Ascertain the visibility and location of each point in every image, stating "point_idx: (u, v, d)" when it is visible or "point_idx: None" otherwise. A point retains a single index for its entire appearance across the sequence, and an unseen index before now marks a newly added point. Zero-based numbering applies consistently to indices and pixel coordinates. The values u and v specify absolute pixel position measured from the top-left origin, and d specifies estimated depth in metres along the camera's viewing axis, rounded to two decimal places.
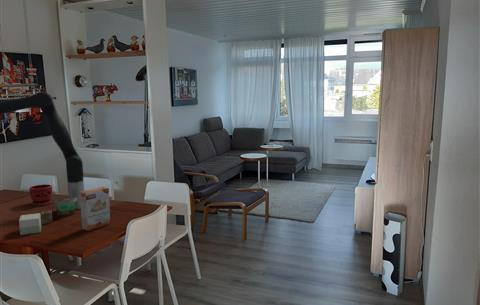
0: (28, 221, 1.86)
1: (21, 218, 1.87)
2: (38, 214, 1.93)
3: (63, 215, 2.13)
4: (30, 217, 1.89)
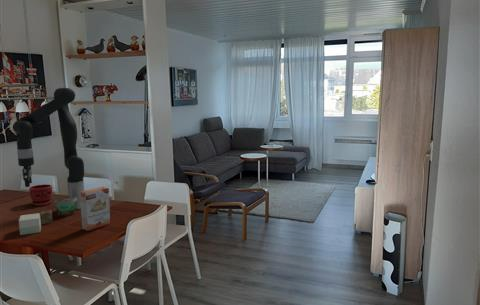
0: (28, 221, 1.86)
1: (21, 218, 1.87)
2: (38, 214, 1.93)
3: (63, 215, 2.13)
4: (30, 217, 1.89)
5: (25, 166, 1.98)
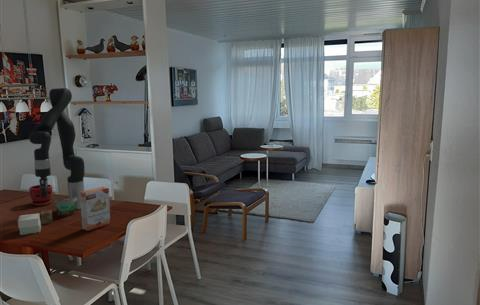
0: (27, 221, 1.86)
1: (20, 218, 1.87)
2: (37, 214, 1.93)
3: (63, 215, 2.13)
4: (29, 217, 1.88)
5: (42, 177, 1.96)
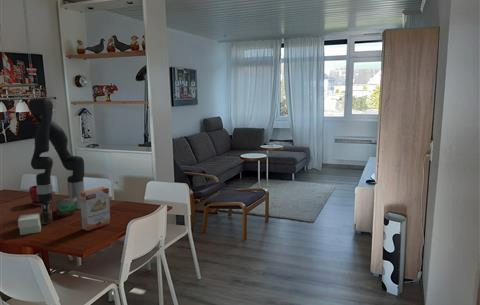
0: (27, 221, 1.86)
1: (20, 218, 1.87)
2: (37, 214, 1.93)
3: (63, 215, 2.13)
4: (29, 217, 1.89)
5: (44, 202, 1.98)
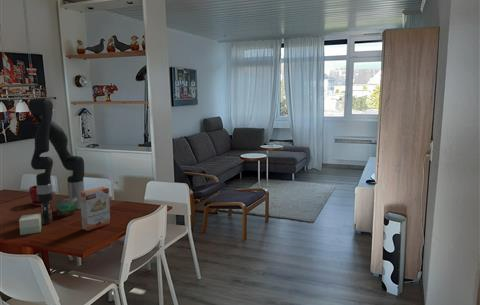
0: (28, 221, 1.86)
1: (21, 218, 1.87)
2: (39, 214, 1.94)
3: (63, 215, 2.13)
4: (30, 217, 1.89)
5: (44, 202, 1.98)
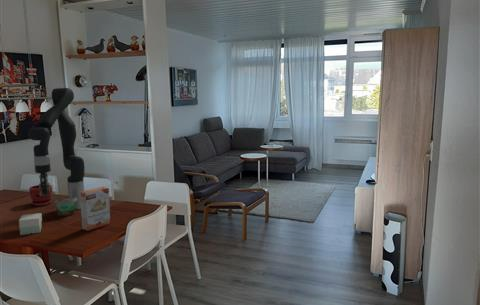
0: (28, 221, 1.86)
1: (22, 218, 1.88)
2: (39, 214, 1.94)
3: (63, 215, 2.13)
4: (30, 217, 1.89)
5: (42, 173, 1.96)
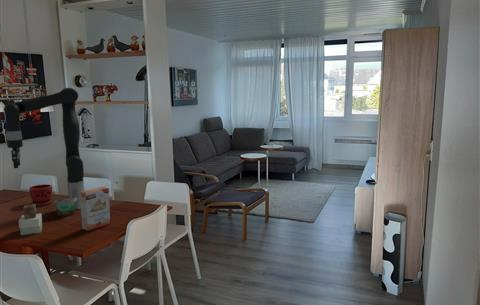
0: (28, 221, 1.85)
1: (21, 218, 1.87)
2: (39, 214, 1.93)
3: (63, 215, 2.13)
4: None
5: (14, 148, 2.02)
